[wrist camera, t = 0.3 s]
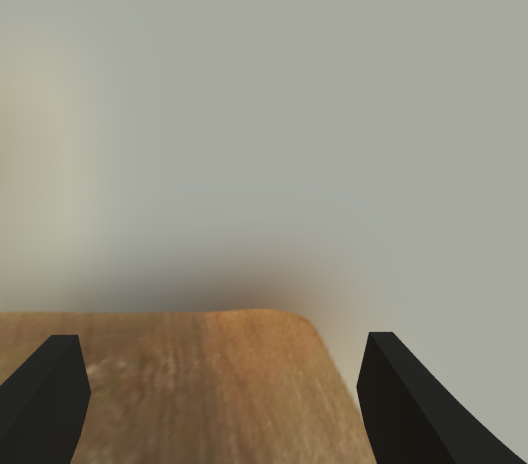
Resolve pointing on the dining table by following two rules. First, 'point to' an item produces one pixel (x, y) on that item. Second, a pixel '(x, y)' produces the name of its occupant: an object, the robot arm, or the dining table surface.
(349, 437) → the dining table surface
